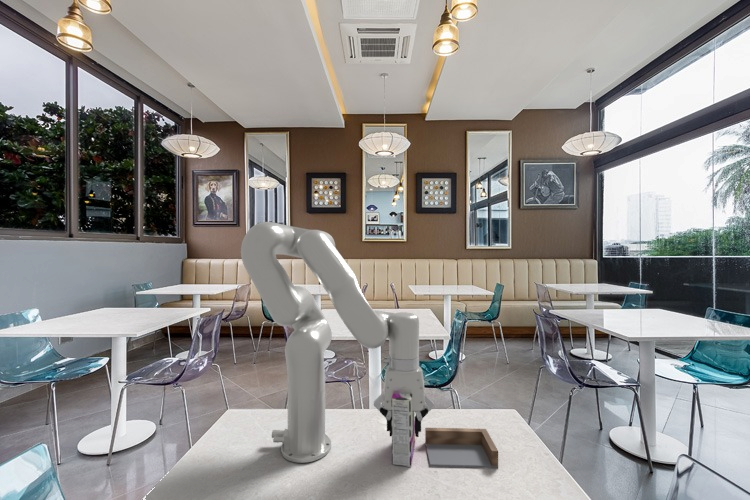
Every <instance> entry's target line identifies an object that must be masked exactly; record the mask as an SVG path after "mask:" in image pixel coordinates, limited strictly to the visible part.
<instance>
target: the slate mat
mask: <svg viewBox="0 0 750 500" xmlns="http://www.w3.org/2000/svg"><path fill="white" fill-rule="evenodd" d="M425 447H426V452H427V457H428V458H427V459H428V464H429V467H436V468H437V467H438V468H439V467H440V468H441V467H443V468H445V467H446V468H479V469H480V468H482V469H499V465H498V466H492V465H491V463H490V461H489V459H488V457H487V455H486V453H485V451H484V449H483V447H482V445H452V444H425Z"/></svg>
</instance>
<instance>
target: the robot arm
mask: <svg viewBox="0 0 750 500" xmlns="http://www.w3.org/2000/svg"><path fill="white" fill-rule="evenodd" d="M240 247H241V248H240V257H241V261H242V264H243V266H244V269H245V270H246V273H247V275H248V276H249V278H250V280H251V281H252V283H253V285H254V287H255V289H256V290H257V293H258V294H259V297H260V299H261V300H262V301H263V302H262V303H263V304H264V306H265V308H266V309H267V311H268V313H269V315H270V317H271V319H272V320H273V321H274V323H275V324H277V325H278V326H281V327H290V326H292V328H293V331H292V332H291V333H290V335H289V337H288V338H287V340H286V343H285V347H284V355H285V363H286V373H287V428H284V430H283V429H282V430H281V429H272V431H271V439H272V441H273V443H277V444H278V443H281V446H280V448H281V449H280V453H281V455H282V457H283V458H284V459H286V460H287V461H288V462H293V463H297V464H304V463H305V464H306V463H310V462H311V463H312V462H316V461H317V460H320V459H322V458H324V457H326V455H328V453H329V452H330V450H331V448H332V440H331V438H330V437H329V436H328V435H327V434H326V372H325V371H326V370H325V368H326V367H325V360H324V359H325V358H324V357H325V356H324V355H325V353H326V351H327V349H328V347H329V346H330V344H331V341H332V338H333V334H332V333H333V332H332V329H331V327H330V324H329V323H328V321H327V319H326V317H325V314H324V313H323V311H322V310H321V308H320V306H319V305H318V303H317V301H316V299H315V296H314V295H313V294H312V293H311V292H310V291H309V290H308V289H306V288H305V287H303V286H300V285H299V286H298V285H294V283H293V282H292V280H291V279H290V277H289V275H288V273H287V271H286V269H285V268H284V266H283V265H282V264H281V263H280V261H279V259H278V258H277V255H282V256H283V255H284V256H290V257H295V258H299V259H300V258H301V259H302V260H303V262H304V264H305V265H306V266H307V267H308V268H309V270H310V271H311V272H312V274H313V275H314V276H315V278H316V279H317V280H318V282H319V283H320V284H321V286H322V288H323V289H324V290H325V292H326V293H327V295H328V296H329V299H330V301H331V303H332V305H333V306H334V309H335V310H336V313H337V314H338V316H339V318H340V319H341V320H342V323H344V325H345V327H346V328H347V329H348V330H349V332H350V333H351V334H352V336H353V337H354V339H356V341H357V342H358V343H359V344H360V345H361V346H362V347H364V348H367V349H372V350H373V349H378V348H380V347H381V346H383V345H384V344H385V342H386V340H387V339H388V341H389V342H388V346H389V347H388V353H389V354H388V356H386V357H383V364H386V365H387V366H386V367H385V368H386V369H385V373H384V381H383V382H384V383H383V391H382V393H381V394H379V395H378V397H377V398H376V399H375V400H374V401H373V406H374V407H375V409H377V410H378V412H379V413H380V414H381V415H382V416H383V417H384V418H385V420H386V432H389V437H392V405H391V398H392V395H393V394H397V393H398V394H399V393H403V394H404V393H405V394H412V411H413V412H415V438H419V434H420V433H421V432H422V421H423V419H424V418H425V417H426V416H427V415H428V414H429V412H430V411H431V410H433V409H434V408H435V403H434V401H433V400H432V399H431V398H430V397H429V396H428V395H427V394H426V392H425V379H424V373H423V369H422V367H421V366H420V356H419V355H420V320H419V316H418V315H417V314H415V313H413V312H406V311H405V312H403V311H402V312H388V311H382V310H374V309H373V308H372V306H371V305H370V304H369V302H368V301H367V299H366V298H365V296H364V294H363V292H362V290H361V288H360V285H359V282H358V278H357V275H356V274H355V271H354V270H353V269H352V268H351V266H350V265H349V263H348V262H347V261H346V260H345V259H344V257H343V256H342V254H341V253H340V252H339V250H338V249H337V248H336V243H335V239H334V238H333V236H332V235H331V234H329V233H328V232H326V231H323V230H320V229H307V228H303V227H299V226H298V227H297V226H292V225H287V224H282V223H277V222H274V221H273V222H272V221H262V222H258V223H256V224H254V225H253V226H251V228H250V229H248V231H247V232H246V234H245V235H244V237H243V239H242V242H241V246H240ZM382 403H383V405H382ZM425 404H426V405H425Z"/></svg>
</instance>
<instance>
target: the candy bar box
mask: <svg viewBox="0 0 750 500" xmlns="http://www.w3.org/2000/svg"><path fill="white" fill-rule="evenodd" d="M391 405H392V436H391V465H393V466H396V467H406V468H411V467H412V465H413V458H414V451H415V445H416V436H415V416H416V413H415V412H413V411H412V394H405V393H404V394H403V393H399V394H398V393H397V394H393V395H392V398H391Z"/></svg>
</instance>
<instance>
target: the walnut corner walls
mask: <svg viewBox="0 0 750 500" xmlns="http://www.w3.org/2000/svg"><path fill="white" fill-rule="evenodd" d="M424 434H425V435H424V437H425V439H424V440H425V445H426V444H452V445H482V447H483V449H484V451H485V453H486V455H487V457H488V459H489V461H490V463H491V465H492V466H498V467H499V450H498V448H497V447H496V444H495V442H494V441H493V438H492V437H491V435H490V433H489V432H488V430H487V428H461V427H460V428H459V427H425V429H424Z"/></svg>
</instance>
